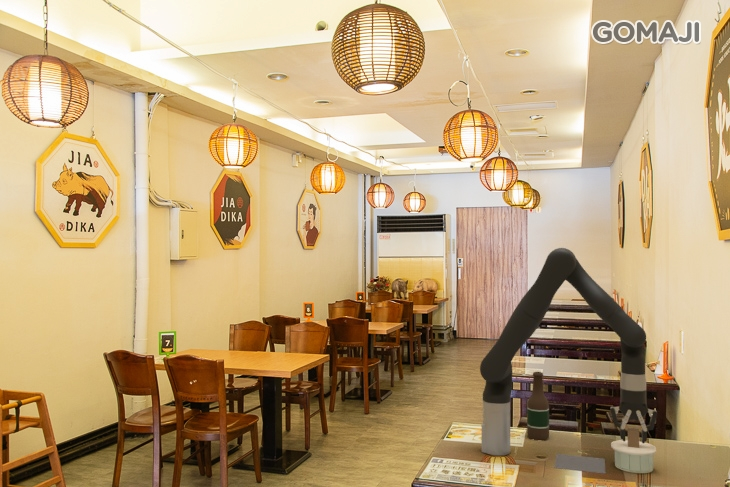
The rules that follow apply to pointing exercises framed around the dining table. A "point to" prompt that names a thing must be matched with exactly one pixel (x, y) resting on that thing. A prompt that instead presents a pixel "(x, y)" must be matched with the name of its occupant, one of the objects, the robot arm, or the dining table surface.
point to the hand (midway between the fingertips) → (633, 441)
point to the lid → (633, 445)
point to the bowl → (634, 462)
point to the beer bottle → (538, 411)
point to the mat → (580, 463)
